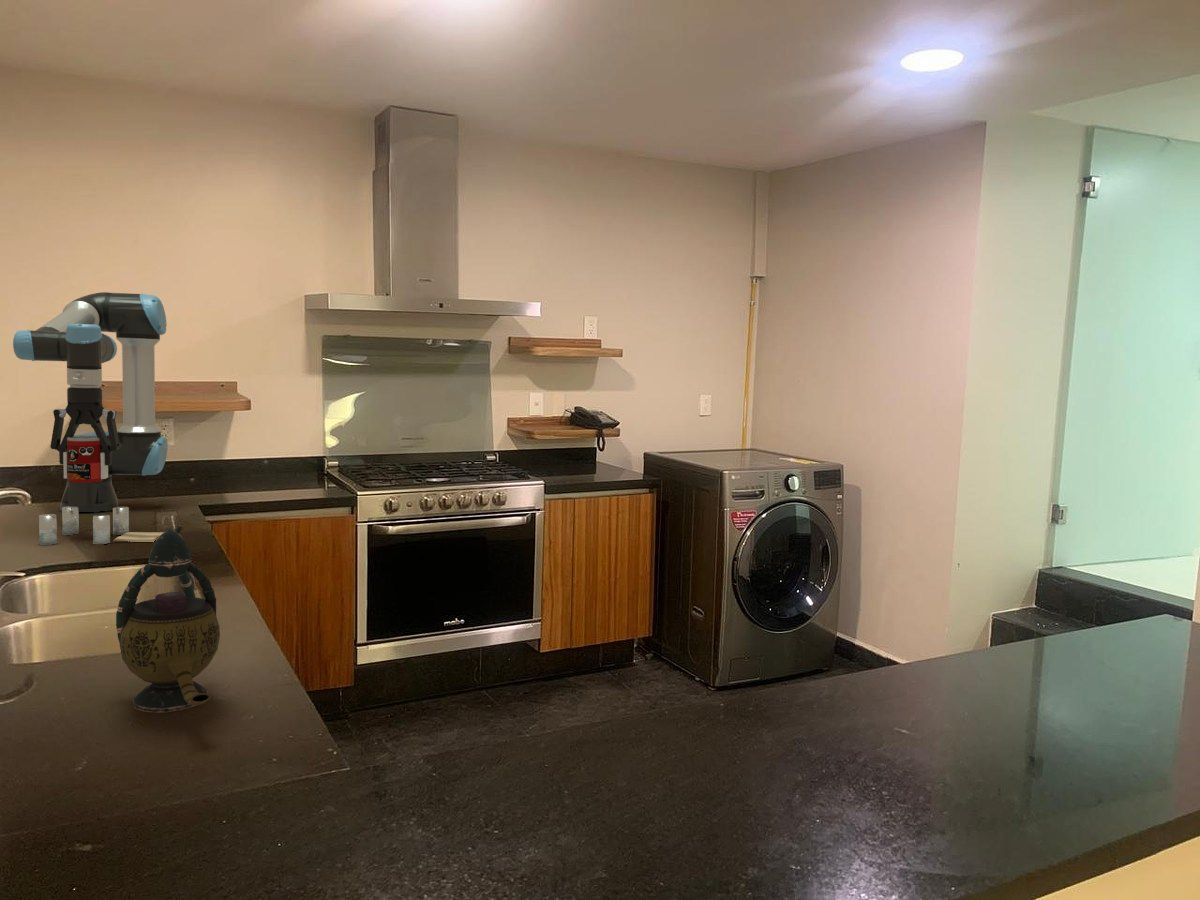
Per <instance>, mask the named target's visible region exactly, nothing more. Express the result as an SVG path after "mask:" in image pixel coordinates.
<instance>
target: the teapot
mask: <svg viewBox="0 0 1200 900" xmlns="http://www.w3.org/2000/svg"><path fill="white" fill-rule="evenodd" d="M182 529H183V526H177V528H176V529H175V530H174V529H173V528H171V527H170V528H168V529H167V530H165V531H163V532H164V533H163V534H161V536H160V537H159V538H158V539H157V540H156V541H155V542H153V543H154V544H153V546H152V547H151V550H150V553H149V556H148V563H146V564H145V565H143V566H142V567H140V568H139V570H138V571H136V573H135V574H134V575H133V576H132V577H131V579H130V580H129V582H128V583H127V585H126V587H125V589H124V590H123V593H122V595H121V597H120V599H119V601H118V605H117V610H116V614H115V626H116V633H117V634H116V635H117V640H118V642H119V648H120V653H121V658H122V661H123V662H124V665H126V667H127V669H128V671H130V672H131V673H132V674H134V675H135V676H136V677H138V678H139V679H140V680H142V681H143V682H145V683H150V684H148V685H147V686H146V687H144V688H143V689H142V690H141V691H140V692H139V693H138V694H137V695H136V696H135V697H133V699H132V707H133V708H134V709H136V710H137V711H142V712H145V713H146V712H147V713H169V712H171V713H172V712H177V711H182V710H186V709H190V708H193V707H196V706H201V705H203V704H205V703H206V702H207V701H209V700H211V697H212V696H211V694H210V693H209V691H208V689H207V688H205V687H204V686H202V685H200V684H199V683H197V682H196V681H194V680H193V678H195V677H197V676H199V674H201V673H202V672H203V671H204V670H205V669H206V668H207V667H208V666H209V665H210V664H211V662H212V660H213V659H214V657H215V655H216V653H217V652H218V649H219V643H220V640H221V639H220V638H221V632H220V631H221V630H220V629H221V628H220V623H219V620H218V618H217V597H216V596H215V595H216V594H215V589H214V588H213V587H212V583H211V580H210V577H209V576H206V574H205V573H204V571H202V569H201V568H200V567H197V566H195V565H194V564H193V563H192V554H191V551H190V548H189V545H188V543H187V541H186V540H185V538H183V537H182V535H181V534H180V533H181V531H182ZM190 574H192V576H194V578H195V579H196V580H197V581H199V582H198V583H199V586H200V587H201V589H202V590H201V591H202V595H203V597H204V598H200V597H196V593H195V590H194V585H193V583H192V579H191V576H190ZM153 575H155V576H156V577H159V578H176V577H178V579H179V583H180V585H181V589H182V591H181V592H180V591H170V592H169V591H168V592H162V593H158V594H157V595H155V596H154V598H153V599H148V600H143V601H139V602H138V603H137V601H138V596H139V594H140V591H141V589H142V586H143V585H144V584H145V583H146V582H147V580H148V579H149V578H150V577H152V576H153Z"/></svg>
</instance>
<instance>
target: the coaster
mask: <svg viewBox="0 0 1200 900" xmlns="http://www.w3.org/2000/svg"><path fill="white" fill-rule="evenodd" d="M164 532H165V531H162V532H161V531H160V532H159V531H155V532H154V531H151V532H150V531H149V532H148V531H145V532H144V531H129V532H127V533H125V534H123V535H121V536H117V537H116V538H114V539H113V542H114V541H128V542H129V541H130V542H153V543H155V542H156V541H155V540H157V539H158V538H159V537H160V536H161V534H163V533H164ZM154 541H155V542H154Z"/></svg>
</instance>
